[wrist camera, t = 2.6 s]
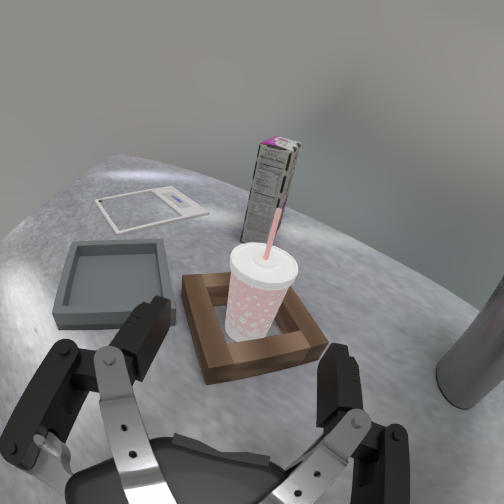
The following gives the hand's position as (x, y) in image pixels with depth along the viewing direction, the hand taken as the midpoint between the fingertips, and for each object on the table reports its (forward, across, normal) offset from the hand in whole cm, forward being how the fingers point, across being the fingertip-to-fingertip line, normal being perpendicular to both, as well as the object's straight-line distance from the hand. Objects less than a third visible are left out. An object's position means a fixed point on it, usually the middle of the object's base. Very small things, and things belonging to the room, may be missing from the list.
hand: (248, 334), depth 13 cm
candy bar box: (+34, +1, +12) cm, 36 cm away
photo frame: (+33, +22, +12) cm, 42 cm away
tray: (+12, +16, +12) cm, 23 cm away
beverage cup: (+12, 0, +12) cm, 17 cm away
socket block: (+12, 0, +12) cm, 17 cm away
